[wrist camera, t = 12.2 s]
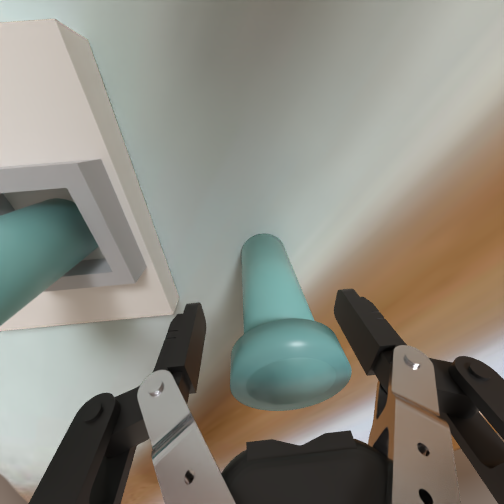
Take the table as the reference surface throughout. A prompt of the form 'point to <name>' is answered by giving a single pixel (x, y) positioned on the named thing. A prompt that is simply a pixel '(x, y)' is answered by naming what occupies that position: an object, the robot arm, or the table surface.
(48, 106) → the housing
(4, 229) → the teal flared handle
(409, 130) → the table surface
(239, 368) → the teal round-knobbed peg
